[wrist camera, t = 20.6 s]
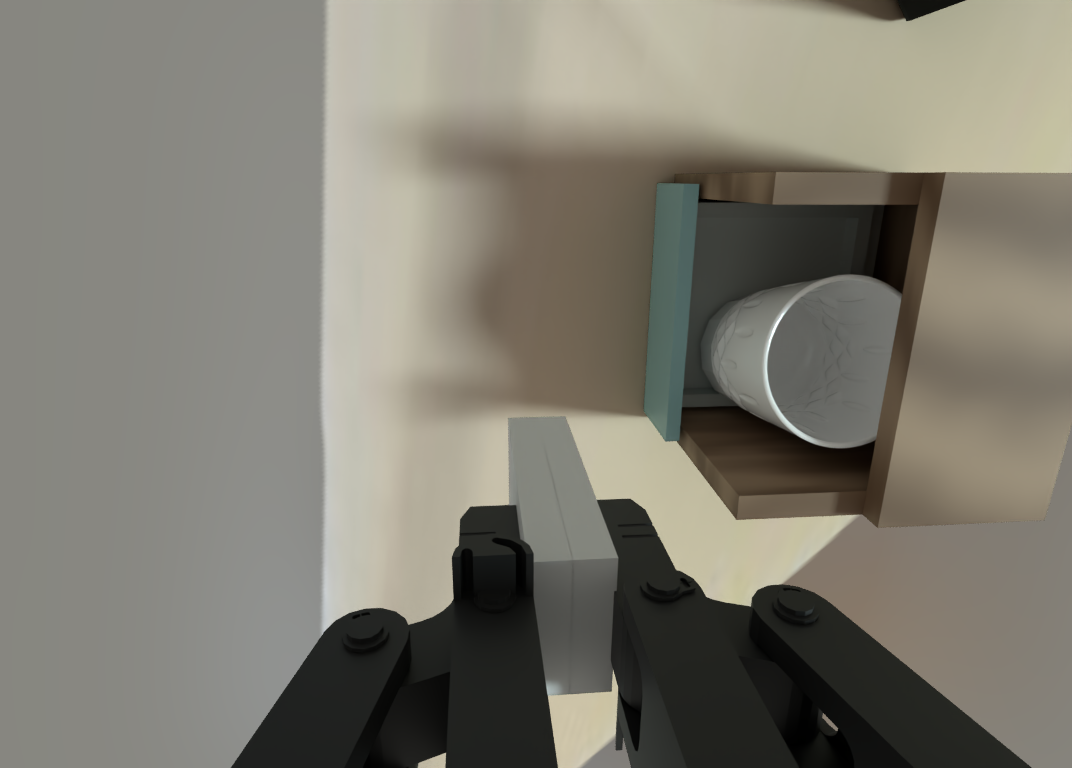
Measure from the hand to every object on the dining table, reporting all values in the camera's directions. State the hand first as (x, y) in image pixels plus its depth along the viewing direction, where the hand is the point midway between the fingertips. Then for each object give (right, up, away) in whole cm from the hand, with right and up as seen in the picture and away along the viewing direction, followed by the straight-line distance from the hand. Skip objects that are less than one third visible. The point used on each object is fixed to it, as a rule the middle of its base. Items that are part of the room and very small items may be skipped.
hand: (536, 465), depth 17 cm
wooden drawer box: (+15, +7, +23) cm, 28 cm away
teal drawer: (+14, +7, +23) cm, 27 cm away
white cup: (+13, +4, +22) cm, 26 cm away
